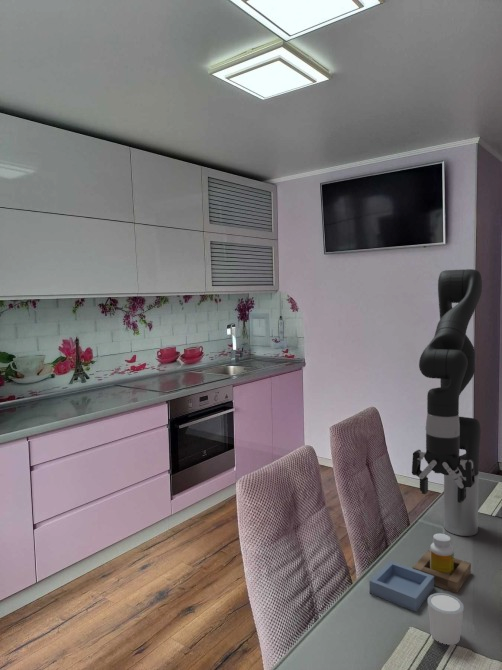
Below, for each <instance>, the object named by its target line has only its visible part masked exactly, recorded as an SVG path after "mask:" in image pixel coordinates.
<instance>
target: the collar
mask: <svg viewBox="0 0 502 670" xmlns="http://www.w3.org/2000/svg"><path fill="white" fill-rule="evenodd" d="M471 565H472V563H471V562H468V561H465V560H461V559H459V558H456V557H454V572H453V574H452V575H451V576H450V575H447V574H444V573H441V572H438V571H435V570H432V569H430V549H427V550H426V552H425V553H424V554H423V555H422V556H421V558H420V559H418V561H417V562H416V563H415V564H414V565H413V566H412V567H411V568H413V569H415V570H418V571H421V572H424V573H427V574H430V575H433V576H434V587H435V586H436V587H439V588H442V589H444V590H447V591H449V592H452V593H455V594H457V593H458V591H460V589H461V587H463V585H464V583H465V582H466V581H467V579H468V578H469V576H470V575H471V573H472V571H471V570H472V566H471Z"/></svg>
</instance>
